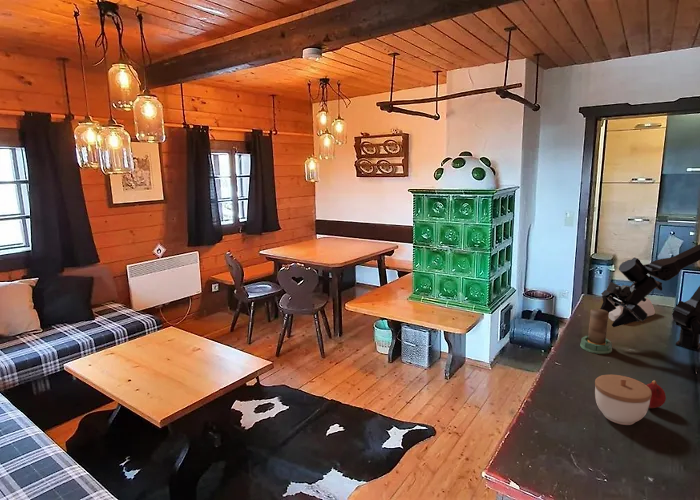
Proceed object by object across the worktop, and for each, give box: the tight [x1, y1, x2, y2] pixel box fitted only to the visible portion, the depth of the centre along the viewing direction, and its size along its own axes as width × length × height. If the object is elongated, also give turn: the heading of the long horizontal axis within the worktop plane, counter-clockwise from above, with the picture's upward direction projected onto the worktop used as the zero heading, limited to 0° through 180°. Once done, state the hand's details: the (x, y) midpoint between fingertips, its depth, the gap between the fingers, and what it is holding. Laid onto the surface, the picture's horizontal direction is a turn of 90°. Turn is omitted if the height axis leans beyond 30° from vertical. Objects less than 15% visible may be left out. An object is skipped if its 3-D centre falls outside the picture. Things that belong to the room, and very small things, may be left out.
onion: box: [646, 379, 667, 409], centre depth 120 cm, size 6×6×8 cm
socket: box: [579, 335, 613, 355], centre depth 158 cm, size 10×10×3 cm
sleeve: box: [587, 308, 609, 345], centre depth 157 cm, size 6×6×13 cm
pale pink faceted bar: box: [608, 297, 656, 322], centre depth 187 cm, size 7×7×24 cm
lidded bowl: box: [594, 374, 652, 426], centre depth 116 cm, size 13×13×11 cm
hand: (604, 321), depth 156 cm, fingers open, 9 cm apart
